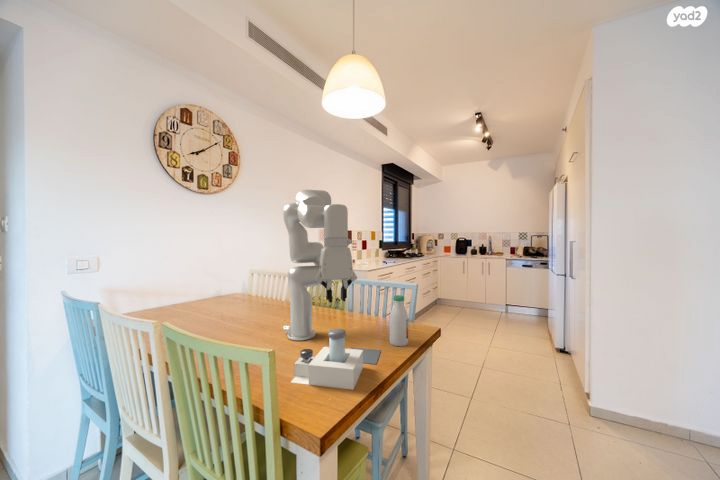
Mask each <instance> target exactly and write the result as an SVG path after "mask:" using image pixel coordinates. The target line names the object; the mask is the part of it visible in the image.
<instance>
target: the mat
mask: <svg viewBox="0 0 720 480" xmlns="http://www.w3.org/2000/svg"><path fill="white" fill-rule="evenodd" d="M349 349H357V350H363V365H364V364H366V365H374V366H375V365H377V363H378V360H379V357H380V354H381V353H382V349H377V348H375V349H373V348H365V347H364V348H362V347H361V348H360V347H350V348H349Z"/></svg>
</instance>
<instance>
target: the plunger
mask: <svg viewBox="0 0 720 480" xmlns="http://www.w3.org/2000/svg"><path fill="white" fill-rule="evenodd" d="M299 353H300V354H299V355H300V357H301V358H304V362H307V363H309V362H310V358H311V357H314V353H313V349H311V348H304V349H301V350H300V352H299ZM300 357H299V358H300Z"/></svg>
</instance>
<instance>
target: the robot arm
mask: <svg viewBox="0 0 720 480" xmlns="http://www.w3.org/2000/svg"><path fill="white" fill-rule="evenodd" d="M348 210H349V209H348V207H347V205H345V204H339V203H332V197H331V195H330V193H329V192H328V191H326V190H322V189H321V190H320V189H302V190H300V191H299V192H298V193H297V194H296V196H295V202H291V203H288V204H285V205H284V207H283V211H282V213H283V214H282V215H283V216H282V217H283V221H284V225H285V228H286V230H287V233H288V245H289V248H288V249H289V256H290V257H289V258H290V261H291V262H292V263H294V264H312V263H313V264H314V265H299V266H295V267H291V268H290V269H289V270H288V272H287V280H288V282H287V283H288V287H289V302H290V303H289V304H290V305H289V308H290V313H289V314H290V316H289V318H290V325H288V324H287V325H286V324H284V325H283V327H282V331H284V332H287V334H286V337H287V339H289V340H290V341H296V342H297V341H298V342H299V341H307V340H310V339H313V338H314V337H316V331H315V330H314V329H313V313H312V312H313V309H312V307H313V304H312V303H313V301H312V294H311V293H310V292H309V291H308V290H307V288H309V287H310V288H311V287H320V286H322V287H324V288H325V291H326V292H325V293H326V300H327V301H328V302H329V303H333V290H332V287H331V286H332V281H333V280H334V281H335V280H336V281H338V280H339V281H341V287H340V300H341V302H346V299H347V296H348V288H349V286H350V285H351V284H352V283H353V282H355V281H356V280H358V276H357V274H356V273H355V271H354V269H353V258H352V252H351V248H350V247H349V246H350V245H352V244H353V239H350V238H349V233H348V232H349V228H348V227H349V226H348V223H349V222H348V221H349V220H348V219H349V215H348V212H349V211H348ZM306 228H309V229H323V236H324V237H323V242H324V243H323V244H322V243H321V242H318V241H316V242H315V241H309V238H308V237H309V236H308V235H309V234H308V230H307V229H306Z"/></svg>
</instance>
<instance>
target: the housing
mask: <svg viewBox="0 0 720 480" xmlns="http://www.w3.org/2000/svg"><path fill="white" fill-rule="evenodd" d="M293 366H294V367H293V371H294V373H293V374H294V377H293V378H292V379H291V381H290V382H289V383H291V384H292V383H293V384H299V385H310V386H318V387H326V388H335V389H345V390H352V391H353V390H354V389H355V388H356V387H355V386H356V385H357V383H358V381H359V378H360V375H361V374H362V371H363V369H364V363H363V350H357V349H350V348H345V363H341V362H330V361H329V346H322V348H321V349H320V351H319V352H318V353H317V354H315V356H312V357H311V358H310V362H309V363H307V362H304V358H301V357H299V358H298V359H297V360H296V361H295V362H294V364H293Z"/></svg>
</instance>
